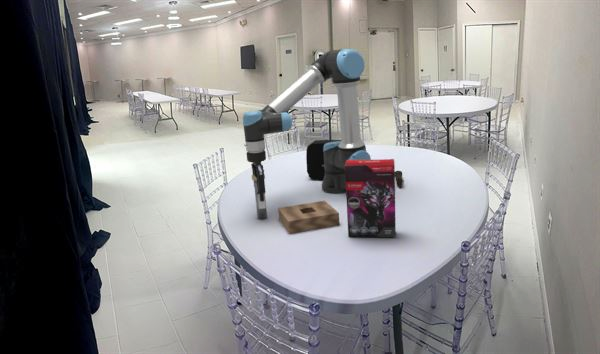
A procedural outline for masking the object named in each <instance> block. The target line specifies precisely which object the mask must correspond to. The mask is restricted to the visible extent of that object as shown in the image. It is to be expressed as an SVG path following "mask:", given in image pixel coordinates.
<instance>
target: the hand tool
mask: <svg viewBox="0 0 600 354" xmlns="http://www.w3.org/2000/svg"><path fill="white" fill-rule="evenodd" d="M395 183H396V187H397V188H399V189H401V188H402V187H403V172H402V170H395Z"/></svg>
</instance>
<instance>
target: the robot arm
mask: <svg viewBox="0 0 600 354" xmlns="http://www.w3.org/2000/svg"><path fill="white" fill-rule="evenodd" d="M364 70H365V60H364V57H363V55H362V54H361V53H360V52H359V51H358V50H355V49H351V48H350V49H349V48H344V49H332V50H328V51H326V52H324V53H323V54H322V55H320V56H319V57H318V58H317V59H316V60H314V61H313V62H312V63H311V64H310V65H308V70H306V71H305V72H304V73H303V74H302V75H300V76H299V77H298V78H297V79H296V80H295V81H294V82H293V83H291V85H289V86H287V88H285V89H284V90H283V91H282V92H281V93H279V94H278V95H277V97H275V98H274V99H273V100H272V101H270V102H269V103H268V104H266V105H265V107H263V108H262V109H258V110H254V111H252V110H251V111H246V112H244V113H243V115H242V126H243V131H244V132H243V133H244V140H245V141H244V144H243V146H244V147H245V149H246V161H247V162H249V163H251V164H250V166H251V171H252V175H255V177H256V178H257V188H258V193H256V194H258V203H259V209H263V208H266V209H267V202H266V203H265V199H266V182H265V181H266V180H265V179H264V174H265V169H264V165H263V164H262V162H264V161H266V159H267V155H266V154H267V153H266V142H265V135H269V134H277V133H284V132H288V131H290V130H291V129H292V126H293V120H292V116H291V115H290V113H288V111H289V110H290V109H292V108H293V107H294V106H295V105H296V104H297V103H298V102H300V101H301V100H302V99H303V98H304V97H305V96H306V95H308V94H309V93H310V92H311V91H312V90H314V88H316V87H317V86H318V85H319V84H324V83H325V82H326V81H328V80H329V79H331V80H332V84H333V86H334V87H336V94H337V105H338V106H337V107H338V115H339V117H338V118H339V129H340V140H341V141H336V142H329V143H326V144H325V145H324V148H323V152H324V169H325V175H324V178H323V181H321V191H323V192H324V193H329V194H342V193H343V194H344V193H345V194H346V178H345V164H346V160H372V159H371V157H372V156H371V155H370V153H369V152H368V151H367V150H366V151H365V146H366V144H365V142H364V141H363V140H362V138H361V137H362V135H361V127H360V126H361V124H360V123H361V122H360V110H359V97H358V96H359V95H358V85H359V83H360V82H361V76H362V75H363V72H364Z"/></svg>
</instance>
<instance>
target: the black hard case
mask: <svg viewBox="0 0 600 354" xmlns="http://www.w3.org/2000/svg"><path fill="white" fill-rule="evenodd" d="M336 141H341V139H319V140H318V139H317V140H314V141H312V142H311V143H310V144H308V145H307V146H306V159H305V160H306V172H307V174H308V175H307V176H308V177H309V179H311V180H315V181H321V182H323V178H324V175H325V169H324V152H323V148H324V145H325V144H326V143H329V142H336ZM365 151H367V147H366V145H365Z"/></svg>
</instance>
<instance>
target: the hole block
mask: <svg viewBox="0 0 600 354" xmlns="http://www.w3.org/2000/svg"><path fill="white" fill-rule="evenodd" d="M277 212H278V221H280V223H281V224H282V226H283V228H285V230H286V232H287V233H288V234H289V235H292V234H296V233H297V234H298V233H302V232H308V231H313V230H319V229H325V228H329V227H330V228H331V227H336V226H340V212H339V211H337V210H336V209H335V208H334V207H333V206H331V204H330V203H329V202H327V201H326V200H318V201H314V202H312V201H311V202H307V203H301V204H300V203H299V204H295V205H287V206H282V207H277Z"/></svg>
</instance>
